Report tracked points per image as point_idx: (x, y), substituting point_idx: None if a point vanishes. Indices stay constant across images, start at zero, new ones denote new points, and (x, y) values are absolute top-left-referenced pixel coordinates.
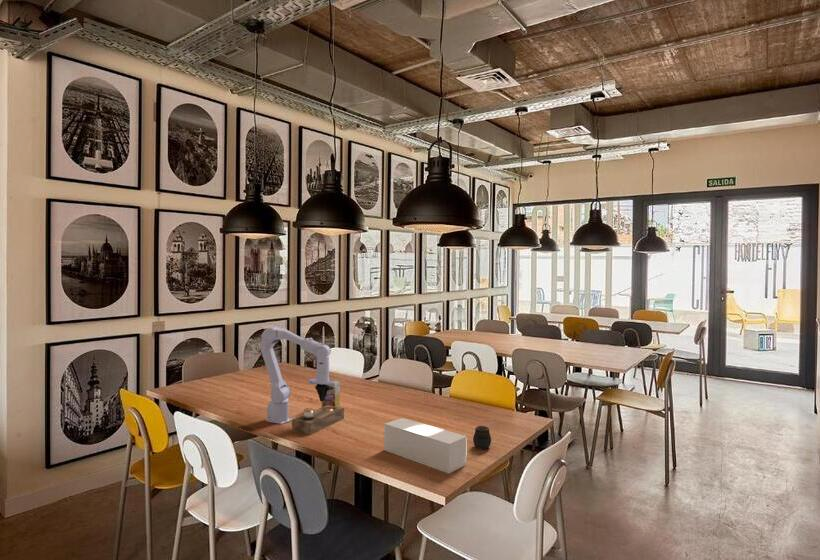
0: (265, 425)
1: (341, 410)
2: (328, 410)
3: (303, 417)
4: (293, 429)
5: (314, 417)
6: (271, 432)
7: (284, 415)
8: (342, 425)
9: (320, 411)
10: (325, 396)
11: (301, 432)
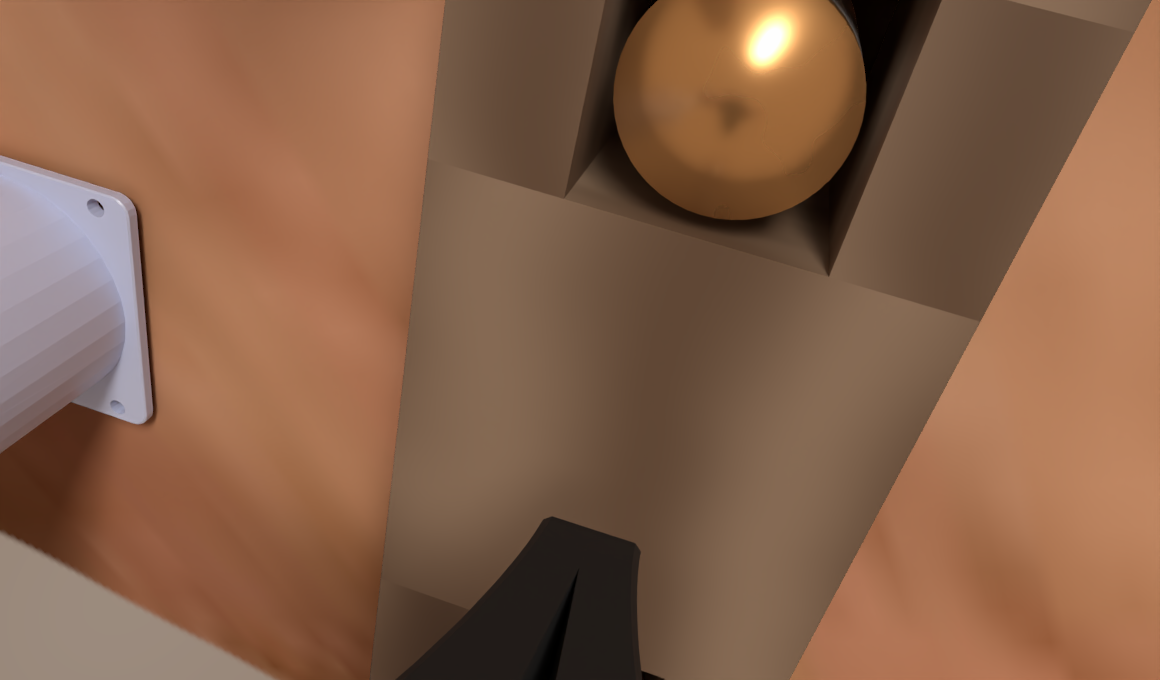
0: (27, 461)
1: (1134, 2)
2: (744, 207)
3: None
4: None
5: None
6: (249, 649)
7: (52, 402)
8: (1142, 345)
9: (583, 335)
10: (633, 649)
11: None
